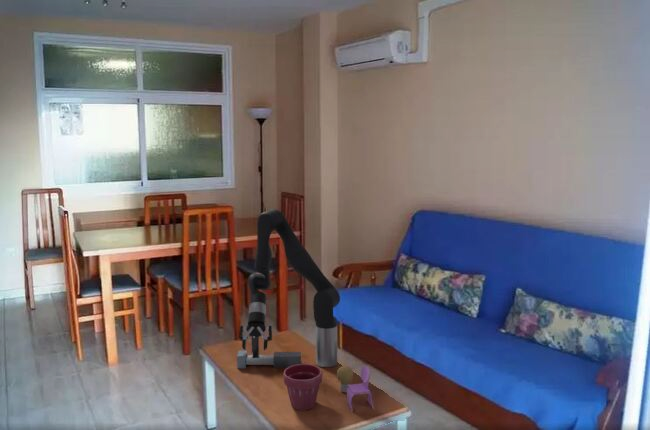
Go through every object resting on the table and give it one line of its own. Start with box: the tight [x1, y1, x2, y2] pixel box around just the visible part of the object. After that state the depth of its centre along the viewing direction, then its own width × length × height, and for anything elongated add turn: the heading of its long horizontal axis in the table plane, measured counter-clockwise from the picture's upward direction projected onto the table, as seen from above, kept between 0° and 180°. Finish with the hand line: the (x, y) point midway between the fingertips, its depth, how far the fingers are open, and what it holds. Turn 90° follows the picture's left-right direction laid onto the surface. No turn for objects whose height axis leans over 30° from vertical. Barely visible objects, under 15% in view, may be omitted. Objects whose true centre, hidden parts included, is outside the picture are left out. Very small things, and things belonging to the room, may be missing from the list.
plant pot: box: [283, 363, 323, 411], centre depth 204 cm, size 14×14×13 cm
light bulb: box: [336, 365, 354, 393], centre depth 214 cm, size 6×6×10 cm
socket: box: [236, 349, 248, 369], centre depth 238 cm, size 4×6×6 cm, turn 0°
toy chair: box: [346, 365, 375, 412], centre depth 202 cm, size 8×9×15 cm
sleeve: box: [273, 351, 302, 369], centre depth 238 cm, size 12×5×5 cm, turn 90°
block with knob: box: [246, 335, 274, 366], centre depth 237 cm, size 18×3×12 cm, turn 90°
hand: (254, 349), depth 236 cm, fingers open, 8 cm apart
